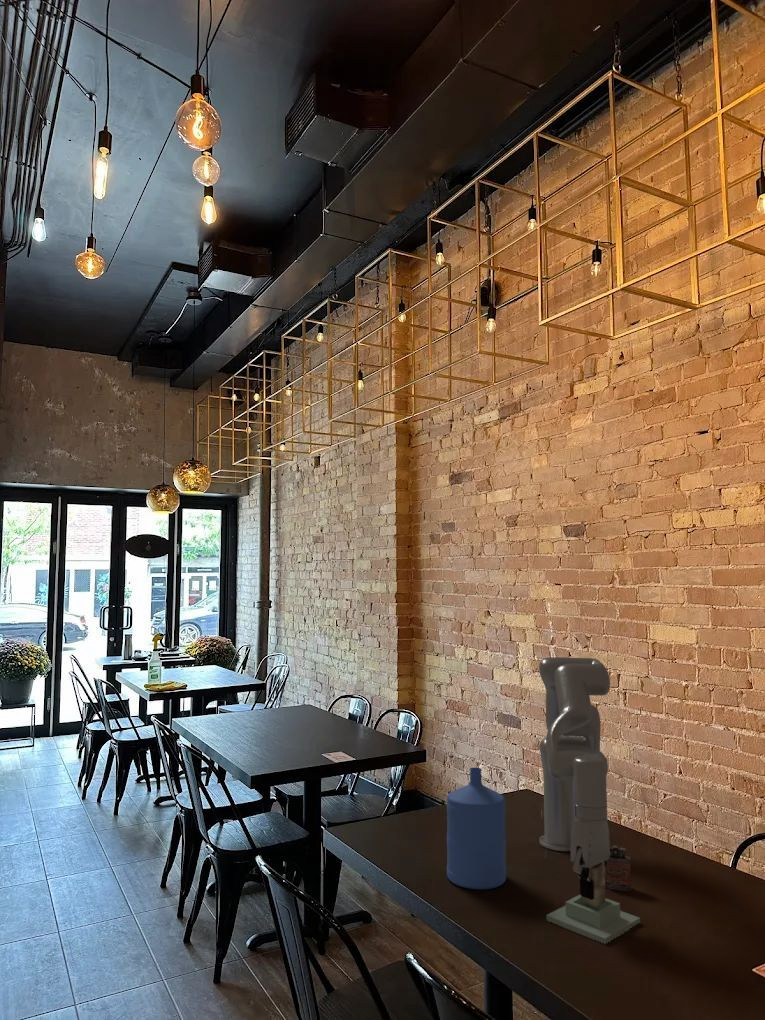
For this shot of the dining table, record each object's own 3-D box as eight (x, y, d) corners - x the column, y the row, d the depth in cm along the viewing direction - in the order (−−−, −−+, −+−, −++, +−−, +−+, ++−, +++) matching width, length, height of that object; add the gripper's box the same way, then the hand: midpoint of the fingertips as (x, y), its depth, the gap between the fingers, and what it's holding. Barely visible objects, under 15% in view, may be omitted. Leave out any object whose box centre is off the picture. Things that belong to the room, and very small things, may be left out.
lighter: (631, 886, 183) (630, 845, 185) (631, 891, 180) (630, 850, 181) (599, 882, 186) (598, 842, 187) (598, 887, 183) (597, 846, 184)
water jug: (505, 893, 179) (504, 778, 182) (443, 887, 182) (443, 774, 185) (507, 870, 194) (506, 763, 197) (450, 865, 197) (449, 760, 200)
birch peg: (590, 896, 166) (589, 860, 167) (605, 901, 164) (604, 865, 165) (580, 901, 164) (579, 864, 165) (596, 906, 161) (595, 869, 162)
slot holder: (582, 902, 174) (582, 884, 174) (640, 923, 163) (639, 903, 163) (546, 920, 164) (546, 901, 164) (605, 944, 153) (604, 923, 153)
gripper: (595, 801, 174) (597, 880, 172) (556, 815, 163) (557, 899, 161) (623, 808, 169) (626, 890, 167) (584, 822, 158) (587, 910, 156)
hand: (592, 893), depth 164 cm, fingers closed on birch peg, 3 cm apart
